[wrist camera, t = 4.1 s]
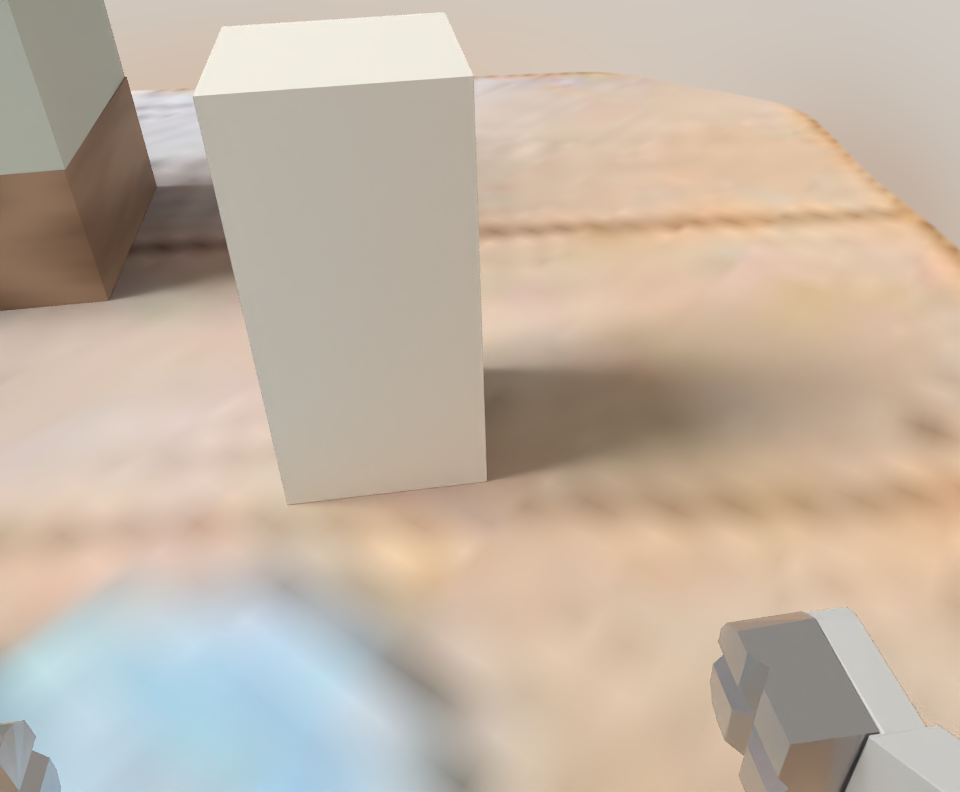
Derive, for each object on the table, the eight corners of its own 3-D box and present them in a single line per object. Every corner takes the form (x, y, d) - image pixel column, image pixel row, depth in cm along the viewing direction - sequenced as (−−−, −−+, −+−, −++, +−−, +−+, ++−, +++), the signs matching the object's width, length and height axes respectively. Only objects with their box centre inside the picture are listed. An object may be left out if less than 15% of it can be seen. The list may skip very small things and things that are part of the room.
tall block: (287, 504, 21) (192, 96, 15) (294, 387, 25) (222, 26, 19) (487, 481, 21) (473, 76, 15) (462, 369, 25) (444, 12, 19)
